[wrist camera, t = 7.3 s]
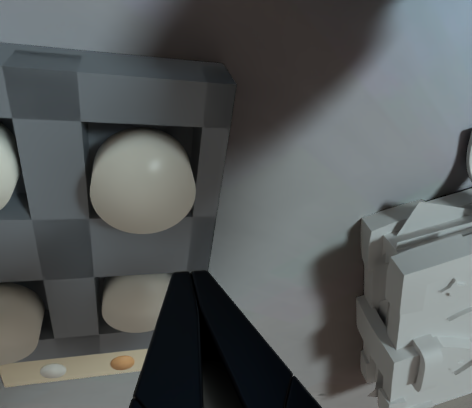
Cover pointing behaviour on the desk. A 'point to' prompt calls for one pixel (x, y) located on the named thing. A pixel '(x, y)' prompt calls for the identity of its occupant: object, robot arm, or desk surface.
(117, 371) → the pattern card
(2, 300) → the button
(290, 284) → the desk surface
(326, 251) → the desk surface
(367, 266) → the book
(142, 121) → the button board
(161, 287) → the button
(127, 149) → the button
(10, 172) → the button
